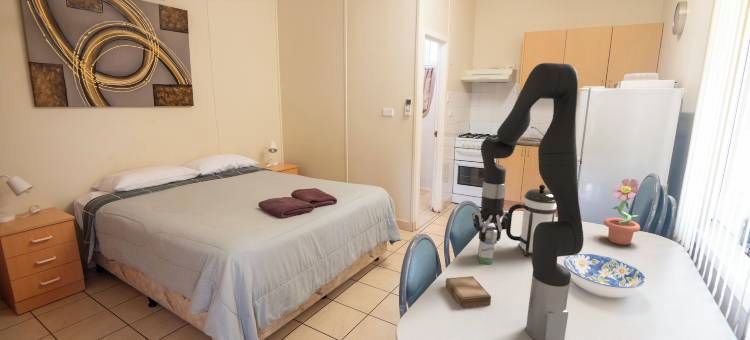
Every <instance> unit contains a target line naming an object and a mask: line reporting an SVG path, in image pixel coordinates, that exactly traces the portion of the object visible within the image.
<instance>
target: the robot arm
mask: <svg viewBox="0 0 750 340" xmlns="http://www.w3.org/2000/svg"><path fill="white" fill-rule="evenodd" d="M578 76H579V75H578V71H577V69H576V68H575V67H574V65H572V64H569V63H554V62H551V63H550V62H542V63H539V64H537V65H536V66H535V67H533V68H532V70H531V71H530V73H529V74H528V76H527V79H526V80H525V82H524V84H523V86H522V89H521V91H520V93H519V95H518V97H517V98H516V101H515V103H514V105H513V106H512V109H511V111H510V112H509V114H508V115H507V116H506V118H505V119H504V121H503V122H502V123H501V125H500V126H499V127H498V129H497V132H496V136H497V137H487V138H485V139H483V141H482V142H481V146H480V155H481V157H482V163H483V168H484V169H483V171H484V172H483V174H484V175H483V182H482V191H481V202H480V208H481V209H480V211H479V212H478V213H475V212H473V213H472V223H473V228H474V229H475V230H476V231H478V240H479V241H482V242H485V230H486V228H487V227H488V226H490V224H494V227H495V228H497V229H498V232H497V242H499V241H500V240H501V236H502V233H501V232H502V231H503V230H506V229H507V226H508V223H509V219H510V216H511V214H509V213H508V211H504V207H505V206H504V204H505V195H506V175H507V174H506V173H507V171H506V170H507V169H506V167H505V166H503V165H500V164H496V162H495V159H507V158H510V157H511V156H512V155H513V153H514V151H515V148H516V146H517V143H518V141H519V140H520V138H521V137H522V136H523V135H524V133H525V132H526V131H527V130H528V128H529V126H530V124H531V117H532V116H531V109H532V107H533V106H534V105H535V104H536V103H537V102H538V101H540V99H547V100H548V99H549V100H550V99H551V100H553V110H552V111H553V112H552V113H553V114H552V119H551V122H550V123H549V126H548V128H547V129H546V131H545V132H544V135H543V136H542V139H541V141H540V142H539V144H538V145H539V146H538V150H537V151H538V153H537V154H538V171H539V175H540V177H541V180H542V181H543V183H544V186H545V187H547V190H549V191H550V192H551V194H552V195H553V197H554V199H555V202H556V207H557V209H556V214H557V220H556V221H555V220H554V221H551V222H541V223H539V224H538V225H537V226H536V228H535V230H534V235H533V248H532V253H531V265H532V275H531V276H532V277H531V285H530V291H529V298H528V308H527V309H528V311H527V316H526V327H525V330H526V333H527V335H528V336H529V337H531V338H532V339H533V340H565V338H566V332H567V325H568V316H569V311H568V310H567V305H568V297H569V291H570V285H571V284H570V283H571V277H572V274H571V271H570V270H569V268H567V267H566V266H564V265H562V264H560V263H558V258H559V257H567V256H571V257H572V256H576V255H578V254H580V252H581V251H582V250H583V247H584V239H585V237H584V230H583V222H582V221H583V220H582V216H581V215H582V213H581V207H580V199H579V187H578V186H579V184H578V149H577V105H578V94H579V93H578V92H579V77H578Z"/></svg>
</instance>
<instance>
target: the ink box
mask: <svg viewBox="0 0 750 340" xmlns="http://www.w3.org/2000/svg"><path fill="white" fill-rule="evenodd" d="M478 242H479V244H478V251H477V255H478V261H479V263H480V264H486V265H492V264H493V259H494V250H495V244H493V245H490V244H485V243H483V242H482V241H480V240H479V241H478Z"/></svg>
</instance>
